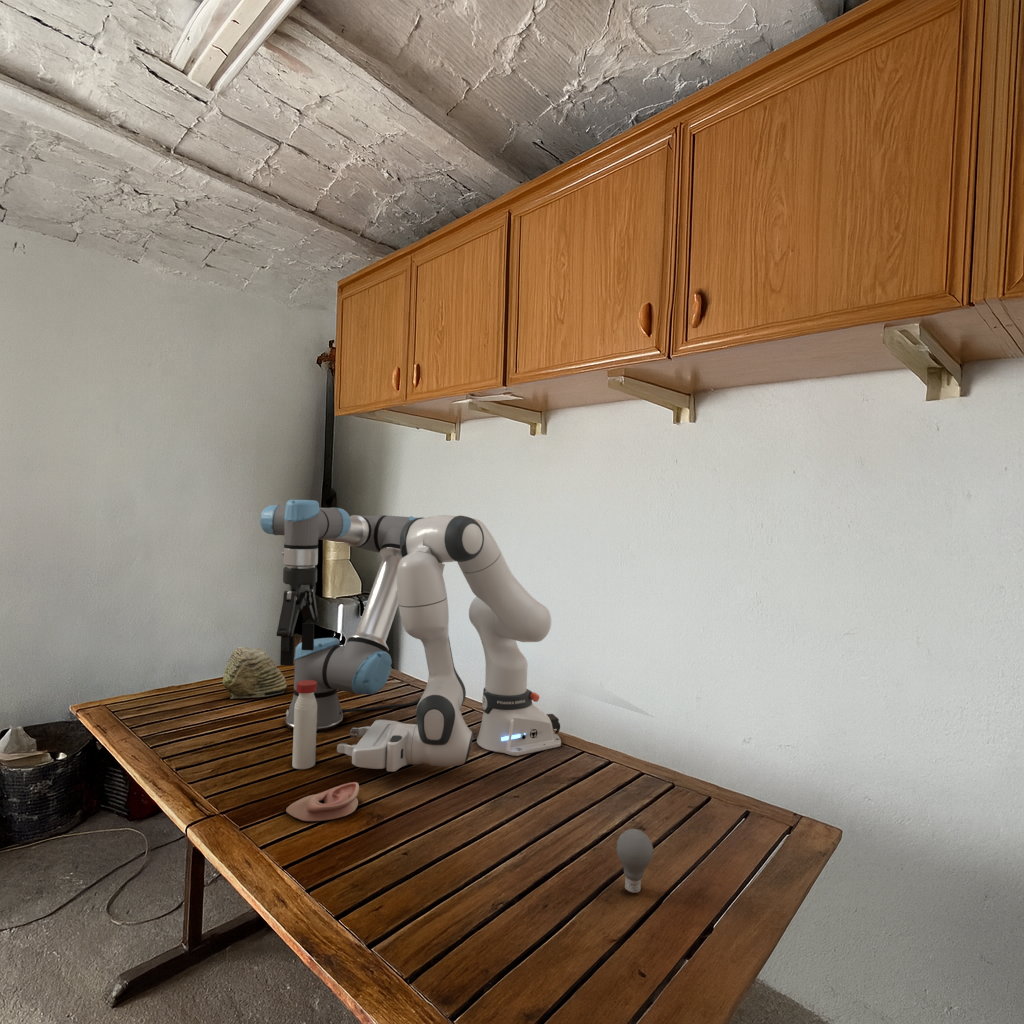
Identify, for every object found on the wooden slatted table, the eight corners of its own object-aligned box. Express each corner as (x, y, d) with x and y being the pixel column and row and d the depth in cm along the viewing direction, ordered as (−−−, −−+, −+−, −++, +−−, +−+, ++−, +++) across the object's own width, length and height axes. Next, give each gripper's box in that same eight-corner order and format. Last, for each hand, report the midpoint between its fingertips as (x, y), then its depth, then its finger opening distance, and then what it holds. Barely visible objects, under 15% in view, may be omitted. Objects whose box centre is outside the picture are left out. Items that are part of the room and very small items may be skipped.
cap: (309, 694, 146) (309, 686, 146) (292, 692, 147) (292, 684, 147) (320, 689, 150) (320, 681, 150) (303, 686, 152) (303, 679, 152)
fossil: (218, 695, 195) (220, 647, 195) (278, 685, 208) (279, 640, 207) (228, 703, 189) (230, 653, 188) (289, 692, 201) (290, 645, 201)
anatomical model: (278, 797, 124) (308, 772, 135) (277, 817, 124) (307, 791, 136) (340, 806, 122) (366, 781, 133) (339, 827, 122) (365, 799, 133)
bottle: (307, 770, 146) (310, 688, 146) (287, 767, 147) (290, 686, 147) (319, 762, 151) (322, 682, 151) (300, 758, 152) (303, 680, 152)
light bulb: (610, 879, 108) (613, 822, 108) (644, 879, 109) (647, 822, 109) (619, 902, 102) (622, 840, 102) (655, 901, 103) (658, 840, 103)
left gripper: (302, 560, 159) (300, 643, 160) (262, 572, 134) (259, 671, 135) (332, 561, 159) (329, 644, 160) (297, 573, 134) (294, 672, 135)
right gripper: (412, 715, 158) (358, 711, 159) (393, 746, 138) (330, 742, 138) (411, 740, 158) (357, 736, 159) (391, 775, 138) (329, 771, 138)
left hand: (297, 657), depth 147 cm, fingers open, 13 cm apart
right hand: (344, 739), depth 148 cm, fingers open, 8 cm apart
